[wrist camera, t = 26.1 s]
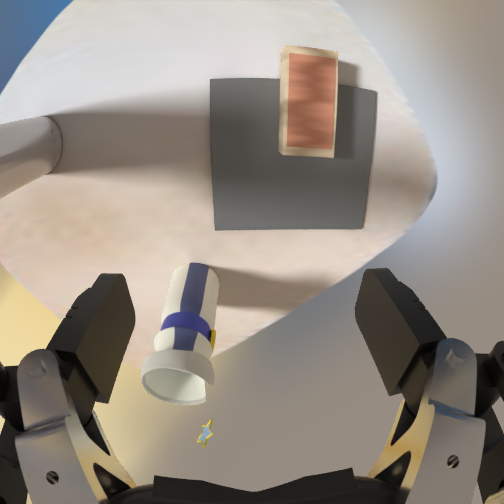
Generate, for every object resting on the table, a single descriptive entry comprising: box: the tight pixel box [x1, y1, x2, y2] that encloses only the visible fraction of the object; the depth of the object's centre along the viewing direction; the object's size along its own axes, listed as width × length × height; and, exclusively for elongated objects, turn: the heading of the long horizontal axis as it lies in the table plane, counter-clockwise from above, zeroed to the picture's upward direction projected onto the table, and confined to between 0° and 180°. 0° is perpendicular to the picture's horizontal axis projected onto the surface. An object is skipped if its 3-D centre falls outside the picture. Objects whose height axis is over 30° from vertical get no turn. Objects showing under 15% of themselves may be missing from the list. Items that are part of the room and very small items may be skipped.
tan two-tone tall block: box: [278, 45, 338, 158], centre depth 28 cm, size 6×4×13 cm
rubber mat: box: [210, 78, 375, 231], centre depth 34 cm, size 21×20×1 cm
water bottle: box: [141, 263, 220, 448], centre depth 31 cm, size 8×9×25 cm
